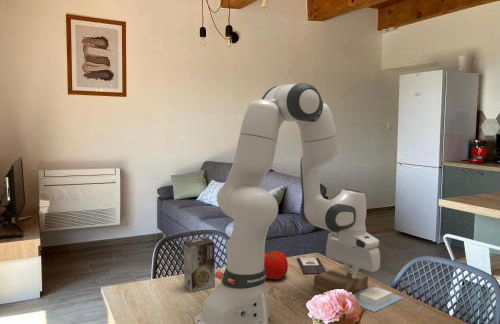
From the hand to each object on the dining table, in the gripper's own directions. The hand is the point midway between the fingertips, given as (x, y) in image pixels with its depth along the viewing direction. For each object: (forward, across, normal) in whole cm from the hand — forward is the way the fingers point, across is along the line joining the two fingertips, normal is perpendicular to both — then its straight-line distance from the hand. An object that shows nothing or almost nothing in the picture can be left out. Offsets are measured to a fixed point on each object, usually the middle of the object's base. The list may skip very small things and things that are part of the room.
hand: (350, 277), depth 142 cm
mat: (+5, +9, 0) cm, 10 cm away
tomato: (+5, -26, -12) cm, 29 cm away
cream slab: (+3, +10, 0) cm, 10 cm away
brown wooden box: (+5, -4, 0) cm, 7 cm away
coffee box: (+5, -35, -38) cm, 52 cm away
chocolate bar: (+6, -25, +8) cm, 27 cm away
